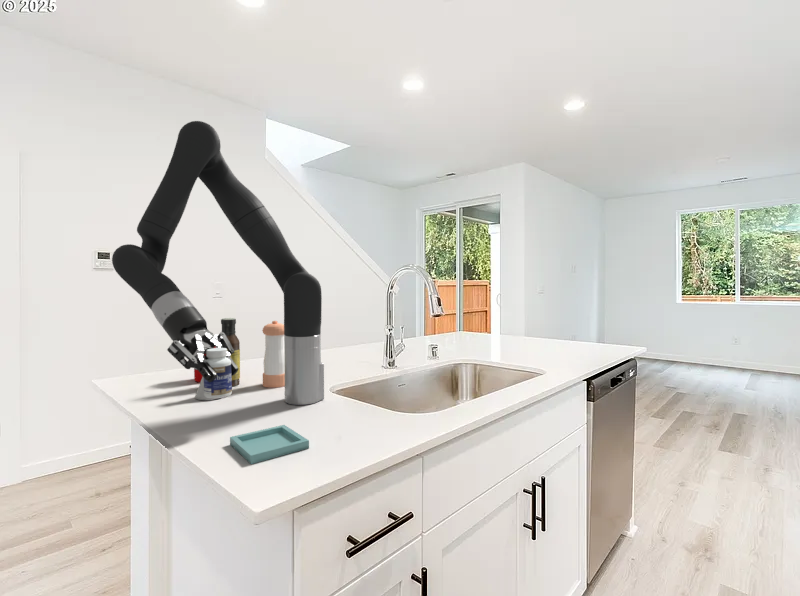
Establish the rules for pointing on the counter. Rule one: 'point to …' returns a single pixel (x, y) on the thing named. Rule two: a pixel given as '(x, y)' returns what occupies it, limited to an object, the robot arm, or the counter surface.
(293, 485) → the counter surface
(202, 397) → the flask
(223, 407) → the counter surface
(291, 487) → the counter surface
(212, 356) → the pill bottle
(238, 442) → the tray
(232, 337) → the sauce bottle
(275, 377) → the salt shaker
